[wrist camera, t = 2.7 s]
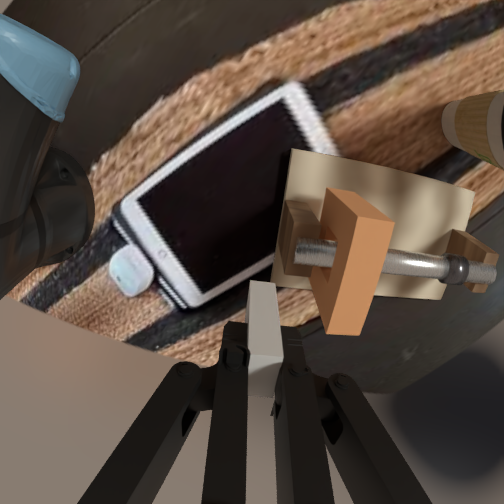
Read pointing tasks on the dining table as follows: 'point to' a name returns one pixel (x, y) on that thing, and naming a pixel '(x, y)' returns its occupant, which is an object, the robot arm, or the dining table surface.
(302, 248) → the pipe
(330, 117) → the dining table surface
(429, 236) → the wooden rod stand
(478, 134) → the coffee cup
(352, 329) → the orange square ring
